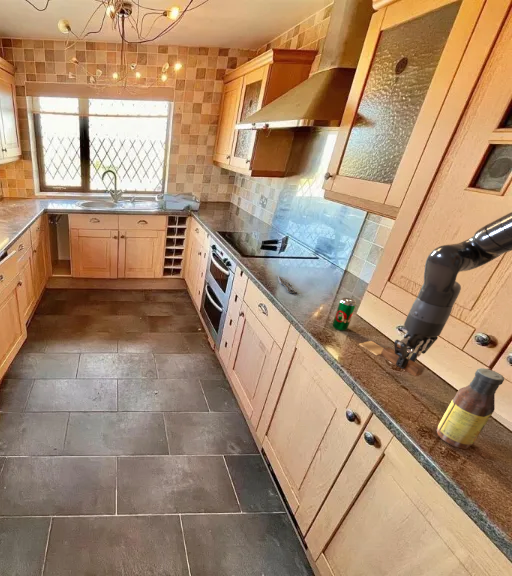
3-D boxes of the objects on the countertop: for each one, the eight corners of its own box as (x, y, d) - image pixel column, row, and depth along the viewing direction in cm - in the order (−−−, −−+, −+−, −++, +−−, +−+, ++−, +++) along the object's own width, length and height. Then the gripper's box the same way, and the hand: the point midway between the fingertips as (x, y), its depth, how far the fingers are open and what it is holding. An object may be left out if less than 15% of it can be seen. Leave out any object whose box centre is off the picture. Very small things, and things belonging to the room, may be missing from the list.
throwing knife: (288, 293, 143) (288, 292, 143) (273, 275, 161) (273, 274, 161) (297, 293, 143) (298, 292, 143) (281, 276, 161) (282, 275, 161)
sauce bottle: (476, 453, 71) (524, 389, 62) (442, 445, 73) (484, 382, 64) (459, 430, 77) (501, 368, 68) (428, 423, 78) (465, 362, 70)
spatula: (424, 373, 87) (428, 366, 86) (411, 377, 86) (415, 370, 85) (370, 341, 101) (373, 335, 100) (358, 344, 100) (361, 338, 99)
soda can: (342, 324, 120) (352, 297, 114) (350, 331, 115) (360, 303, 110) (329, 323, 120) (338, 296, 115) (335, 331, 116) (345, 303, 110)
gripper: (424, 327, 78) (399, 379, 85) (463, 318, 81) (435, 369, 89) (394, 312, 84) (373, 362, 92) (430, 304, 87) (407, 353, 95)
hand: (404, 365), depth 90 cm, fingers closed on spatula, 2 cm apart
